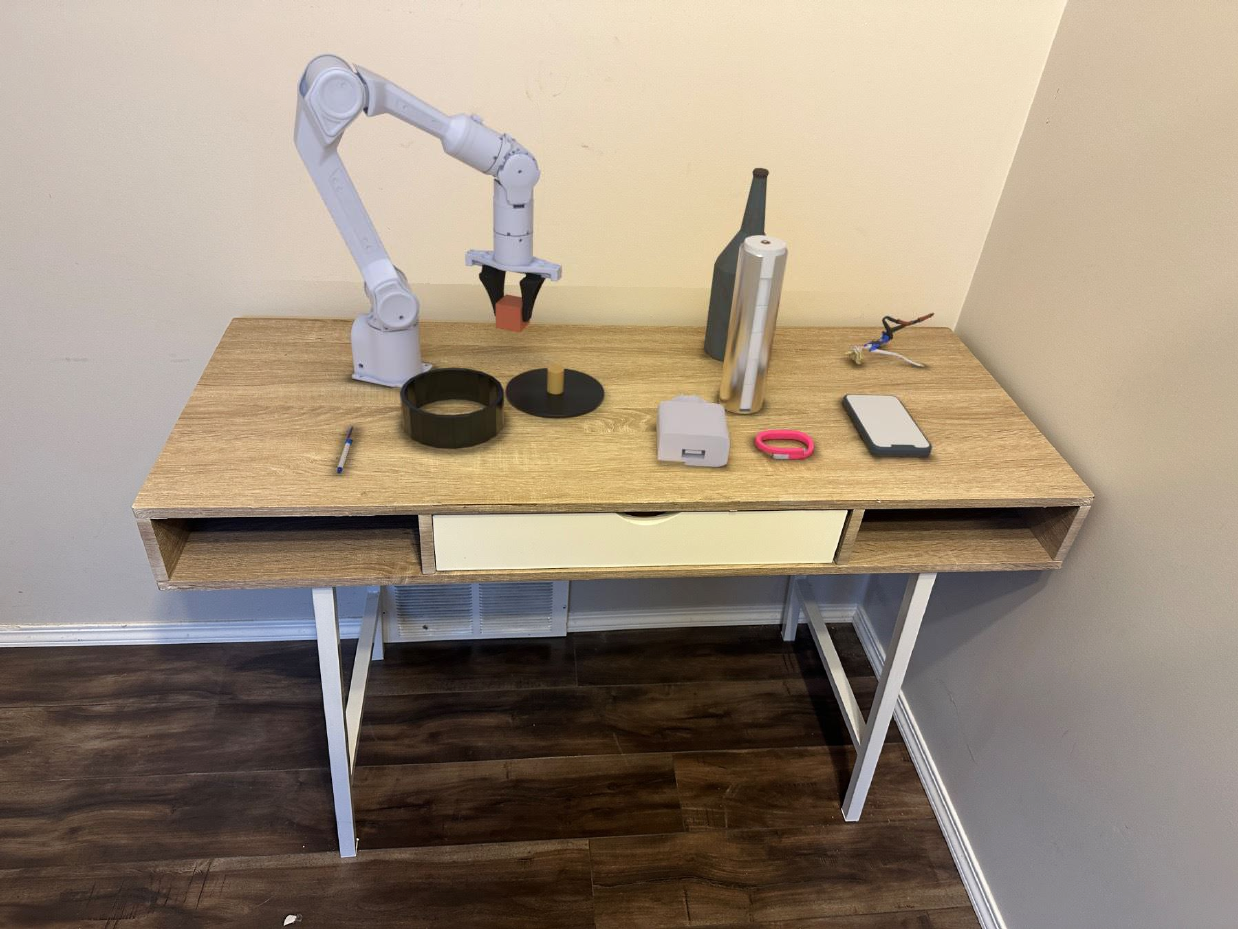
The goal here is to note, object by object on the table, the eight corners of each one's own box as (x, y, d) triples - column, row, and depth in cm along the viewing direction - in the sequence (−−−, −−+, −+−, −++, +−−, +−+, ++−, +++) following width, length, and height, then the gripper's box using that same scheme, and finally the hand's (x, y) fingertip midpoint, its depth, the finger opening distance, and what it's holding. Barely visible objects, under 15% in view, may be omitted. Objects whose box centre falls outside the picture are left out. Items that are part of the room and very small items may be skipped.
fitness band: (759, 459, 122) (760, 449, 121) (750, 436, 127) (752, 427, 126) (817, 460, 122) (819, 450, 122) (807, 437, 127) (809, 428, 126)
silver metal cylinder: (767, 399, 136) (795, 238, 122) (754, 418, 131) (781, 252, 117) (726, 389, 138) (749, 229, 124) (712, 407, 133) (734, 242, 119)
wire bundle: (825, 389, 154) (925, 347, 157) (851, 398, 146) (956, 353, 149) (810, 333, 151) (912, 291, 154) (835, 338, 143) (943, 294, 146)
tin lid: (489, 409, 128) (489, 380, 126) (527, 366, 140) (527, 339, 137) (585, 430, 125) (587, 401, 123) (616, 384, 137) (618, 356, 134)
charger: (717, 411, 132) (726, 467, 119) (654, 407, 132) (657, 463, 119) (721, 382, 129) (731, 437, 117) (657, 378, 129) (660, 433, 117)
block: (495, 328, 137) (495, 303, 135) (505, 318, 140) (505, 294, 138) (520, 332, 136) (520, 308, 134) (530, 322, 139) (530, 298, 137)
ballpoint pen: (349, 430, 122) (348, 424, 121) (355, 430, 122) (355, 424, 121) (336, 474, 113) (335, 468, 113) (344, 474, 113) (343, 468, 113)
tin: (384, 439, 120) (381, 404, 117) (431, 393, 131) (429, 360, 128) (478, 461, 117) (477, 425, 114) (518, 412, 128) (518, 378, 125)
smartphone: (838, 402, 137) (870, 458, 124) (840, 393, 136) (873, 448, 123) (895, 403, 138) (933, 459, 124) (897, 394, 137) (936, 449, 123)
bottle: (775, 352, 149) (807, 169, 133) (749, 374, 142) (780, 183, 126) (719, 335, 154) (744, 155, 137) (692, 355, 147) (714, 168, 130)
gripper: (570, 229, 132) (566, 315, 139) (478, 213, 135) (480, 298, 142) (553, 244, 126) (550, 333, 133) (457, 228, 129) (460, 315, 136)
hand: (513, 316), depth 137 cm, fingers closed on block, 4 cm apart
